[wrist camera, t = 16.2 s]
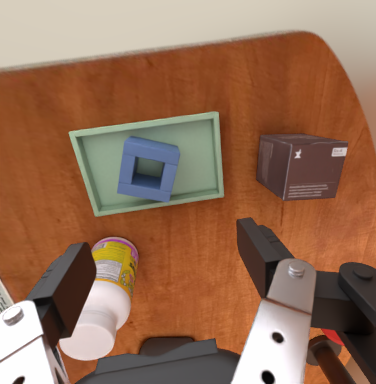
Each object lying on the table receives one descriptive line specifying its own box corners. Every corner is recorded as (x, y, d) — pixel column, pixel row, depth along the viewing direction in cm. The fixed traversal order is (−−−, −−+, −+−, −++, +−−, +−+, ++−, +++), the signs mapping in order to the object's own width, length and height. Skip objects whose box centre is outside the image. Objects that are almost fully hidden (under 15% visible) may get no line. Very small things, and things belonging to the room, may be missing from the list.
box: (254, 179, 29) (281, 201, 23) (259, 133, 27) (290, 142, 20) (297, 178, 30) (336, 199, 23) (305, 132, 28) (351, 141, 21)
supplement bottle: (134, 276, 33) (118, 370, 21) (88, 269, 32) (44, 366, 20) (143, 238, 31) (130, 321, 19) (94, 230, 30) (49, 312, 18)
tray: (214, 111, 26) (218, 111, 24) (220, 191, 30) (224, 197, 28) (75, 130, 25) (68, 132, 23) (99, 209, 29) (95, 217, 27)
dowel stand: (340, 331, 43) (401, 410, 32) (335, 356, 46) (390, 436, 35) (303, 338, 43) (352, 420, 32) (300, 363, 46) (344, 446, 34)
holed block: (178, 146, 26) (180, 153, 22) (168, 188, 28) (168, 203, 24) (130, 135, 25) (124, 140, 21) (123, 180, 27) (116, 193, 23)
